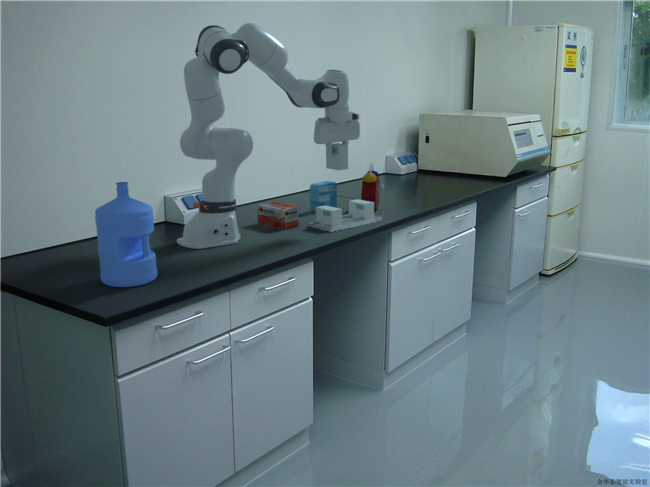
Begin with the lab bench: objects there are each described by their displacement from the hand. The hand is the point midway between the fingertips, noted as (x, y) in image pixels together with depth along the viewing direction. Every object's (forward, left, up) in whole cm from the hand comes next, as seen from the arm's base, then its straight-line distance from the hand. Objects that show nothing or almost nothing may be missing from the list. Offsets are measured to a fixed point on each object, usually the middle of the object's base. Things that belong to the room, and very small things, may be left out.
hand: (337, 154), depth 243 cm
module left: (-1, +3, -26) cm, 27 cm away
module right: (+17, +3, -26) cm, 31 cm away
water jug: (-87, -4, -28) cm, 92 cm away
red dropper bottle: (+35, +13, -28) cm, 46 cm away
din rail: (+8, +3, -28) cm, 29 cm away
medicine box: (-13, +19, -29) cm, 37 cm away
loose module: (0, 0, -5) cm, 5 cm away
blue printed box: (+19, +27, -28) cm, 43 cm away
